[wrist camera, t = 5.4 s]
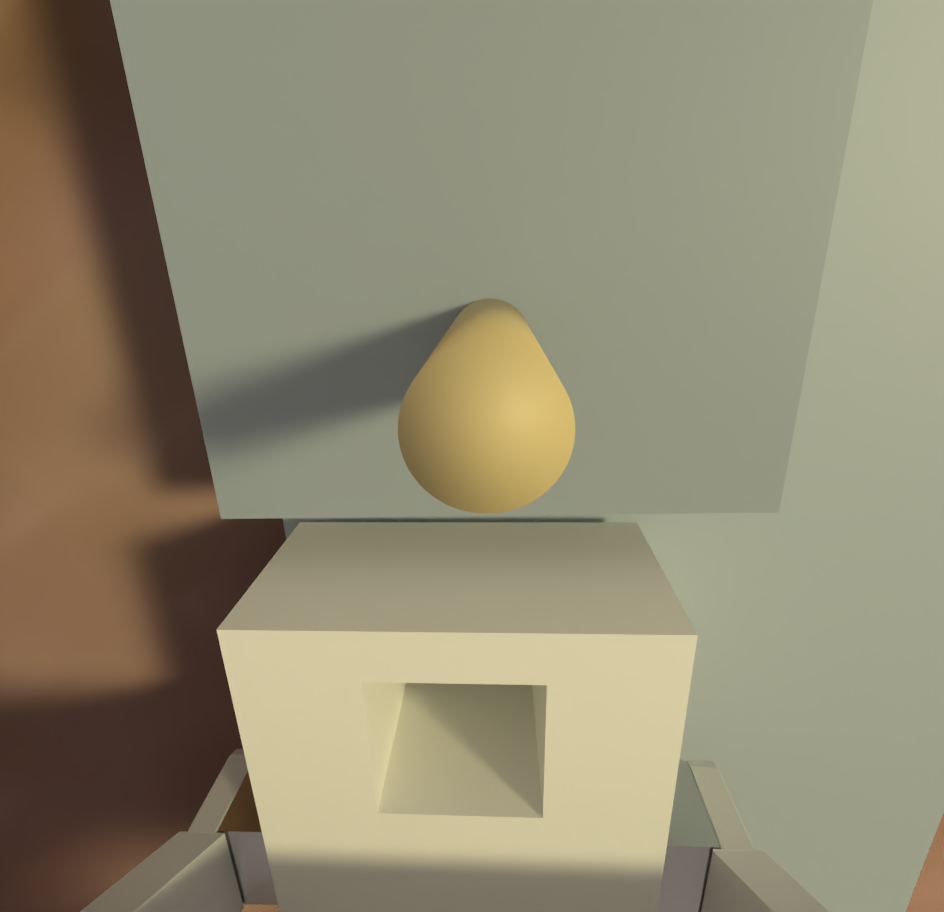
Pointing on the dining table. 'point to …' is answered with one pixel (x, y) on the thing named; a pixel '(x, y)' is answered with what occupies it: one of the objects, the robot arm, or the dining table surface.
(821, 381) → the grey-green stepped plate
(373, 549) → the two-hole cream block
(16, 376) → the dining table surface
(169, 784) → the dining table surface
